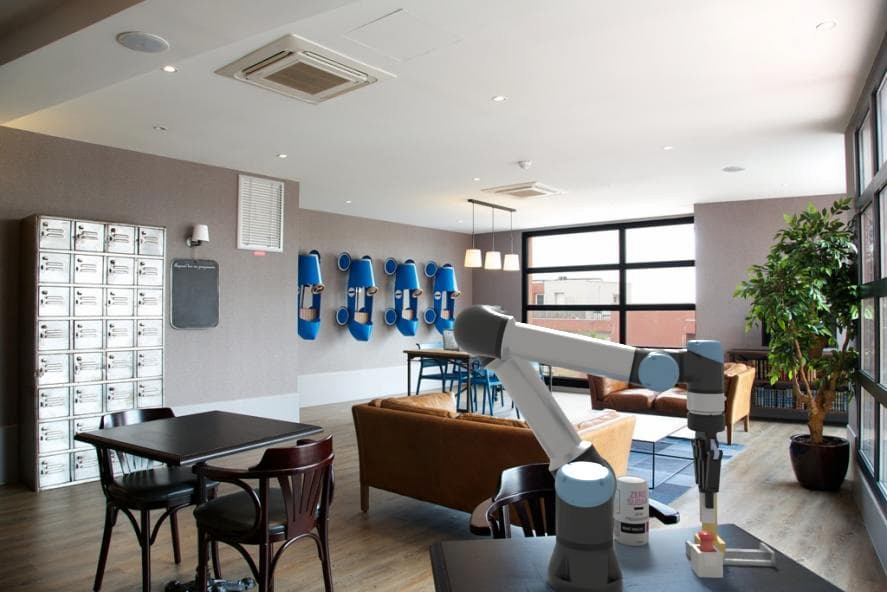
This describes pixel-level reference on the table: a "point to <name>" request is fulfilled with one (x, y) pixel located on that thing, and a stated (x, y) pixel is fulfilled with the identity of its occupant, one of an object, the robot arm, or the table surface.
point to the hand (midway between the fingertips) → (707, 521)
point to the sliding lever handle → (713, 528)
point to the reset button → (706, 541)
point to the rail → (745, 556)
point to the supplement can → (631, 511)
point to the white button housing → (707, 562)
